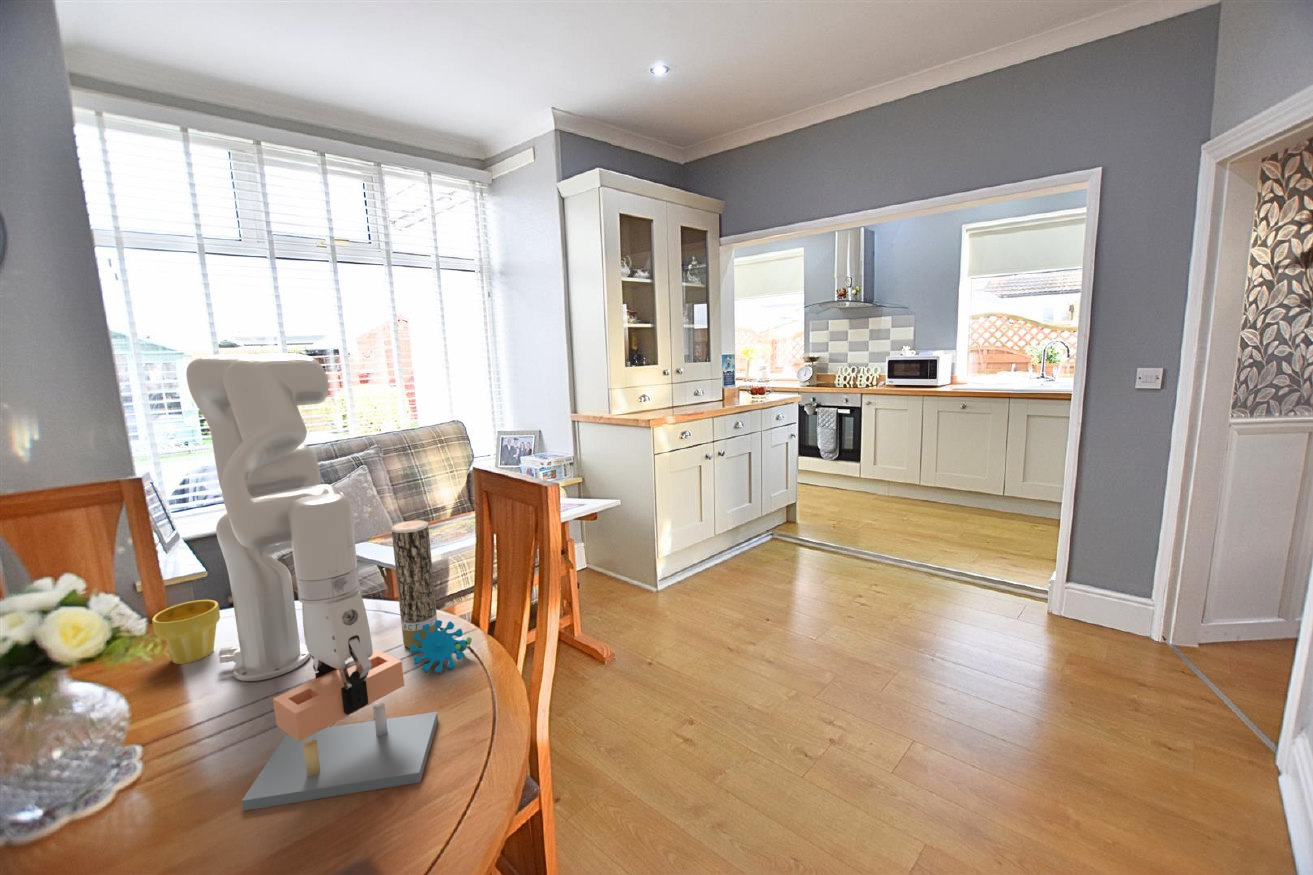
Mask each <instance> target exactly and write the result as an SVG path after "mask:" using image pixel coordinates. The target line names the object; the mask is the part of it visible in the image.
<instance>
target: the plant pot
mask: <svg viewBox="0 0 1313 875" xmlns="http://www.w3.org/2000/svg"><path fill="white" fill-rule="evenodd" d="M219 605H220V604H219V603H218V602H217V601H216V600H213V599H199V600H192V601H187V602H182V603H179V604H176V605H172V606H170V607H168V608H165V609H164V610H161V611H159V612H158V613H156V614H155V615H153V617H152V619H151V623H152V627H153V628H152V629H153V632H154V635H155V636H156V637H157V636H162V637H163V638H166V640H167V643H168V646H169V653H168V652H167V653H168V655H169V658H170V660H171V661H172V663H174V664H175V665H179V664H180V665H183V664H190V663H194V662H196V661H200V660H202V659H204V658H206V657H208V656H209V655H211V654H212V653H213V651H214V649H215V641H216V631H217V624H218V622H219V621H220V619H221V611H220V606H219Z"/></svg>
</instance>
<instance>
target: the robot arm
mask: <svg viewBox="0 0 1313 875" xmlns="http://www.w3.org/2000/svg"><path fill="white" fill-rule="evenodd" d="M185 373H186V374H185V375H186V381H187V385H188V390H189V393H190V395H191V397H192V400H193V401H194V403H195V405H196V407H197V408H198V410H199V412H200V413H201V414H202V416H203V418H204V420H205V421H206V423H207V426H208V427H209V430H210V436H211V440H212V441H211V442H212V448H213V454H214V455H213V456H214V460H215V462H214V463H215V468H216V472H217V473H216V474H217V479H218V483H219V486H220V490H221V494H222V499H223V503H224V506H225V510H226V513H225V514H224V515H223V516H222V517H221V518H219V520H218V521H217V523H216V527H215V532H216V538H217V541H218V545H219V547H220V550H221V552H222V555H223V558H224V559H223V560H224V562H225V565H226V570H227V573H228V579H229V584H230V592H231V598H232V603H233V609H234V610H233V612H234V617H235V624H236V632H237V638H238V643H239V644H238V645H237V646H234V647H233V646H228V647H221V648H220V649H219V651H218V656H219V663H220V664H223V663H229V662H234V663H235V665H234V666H233V668H232V674H233V677H234V678H235V679H236V680H238V681H242V682H258V681H264V680H268V679H272V678H275V677H279V676H282V675H285V674H288V673H289V672H292V671H294V670H296V669H298V668H299V667H300V666H302V665H303V664H305V663H306V662H307V661H308V659H309V658H310V657H311V658H312V660H313V663H312V668H313V671H314V672H315V674H314V675H315V676H314V677H315V679H316V678H318V677H321V676H323V675H325V674H328V673H330V672H332V671H334V670H336V669H339V672H340V675H341V678H342V681H343V684H344V687H343V688H341V691H342V699H343V708H344V713H345V714H346V715H348V716H350V715H352V714H354V713H356V712H358V711H359V709H360V708H361V709H363V708H365V707H367V706H368V705H367V704H368V694H367V686H366V680H367V675H368V672H369V670H370V669H371V667H372V664H371V662H370V660H369V657H371V656H372V653H373V652H374V650H373V642H372V637H371V629H370V624H369V620H368V614H367V610H366V606H365V602H364V599H363V597H362V594H361V592H360V588H361V586H360V585H361V584H360V576H359V568H358V559H357V558H358V557H357V550H356V541H355V540H356V539H355V533H354V531H355V530H354V523H353V522H354V521H353V513H352V506H351V502H350V500H349V498H348V497H346V496H345V494H344V493H343V491H340V489H338V487H336V486H335V485H333V484H327V483H325V484H322V479H321V474H320V473H321V472H320V467H319V463H318V459H317V457H316V454H315V453H314V451H313V450H312V448H311V447H310V446H308V445H307V444H304V442H305V440H306V438H307V434H308V431H307V427H306V425H305V422H304V420H303V416H302V415H301V412H300V410H299V407H298V406H312V405H319V404H321V403H323V402H324V401H326V399H327V397H328V394H329V388H330V387H329V379H328V376H327V373H326V371H325V369H324V367H323V366H322V365H321V363H320V362H319V361H318V360H317V359H316V358H315V357H313V356H310V355H304V354H297V353H256V354H255V353H251V354H250V353H240V354H239V353H237V354H236V353H235V354H234V353H233V354H230V353H229V354H215V355H207V356H202V357H199V358H196V359H193V360H192V361H190V363H189V364H188V365H187V368H186V372H185ZM286 550H292V556H293V557H292V558H293V565H294V571H295V572H294V573H295V580H296V588H297V596H298V601H299V602H300V603H301V606H302V607H301V608H302V609H301V610H302V611H301V612H302V625H303V626H302V627H303V636H304V641H305V643H301V642H300V634H299V633H300V632H299V626H298V619H297V612H296V603H295V597H294V590H293V589H294V588H293V582H292V575H291V572H290V570H289V569H288V567H287V566H286V565H285V564H283V563H282V562H281V561H279V559H276V558H274V557H273V554H277V553H279V552H280V553H281V552H282V551H286ZM350 658H352V659H353V660H352V661H349V662H347V661H348V659H350ZM346 662H347V663H346ZM354 665H355V666H356V671H354V672H353V673H352V674H351V676H350V677H349V674H348V671H347V669H348V668H350V667H352V666H354ZM366 705H367V706H366ZM364 706H365V707H364ZM362 707H363V708H362ZM361 709H360V710H361ZM357 710H358V711H357ZM355 711H356V712H355ZM353 712H354V713H353ZM351 713H352V714H351ZM349 714H350V715H349Z"/></svg>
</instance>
